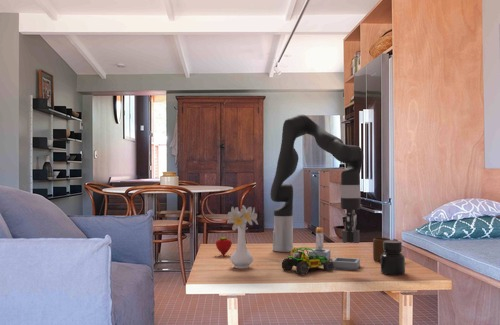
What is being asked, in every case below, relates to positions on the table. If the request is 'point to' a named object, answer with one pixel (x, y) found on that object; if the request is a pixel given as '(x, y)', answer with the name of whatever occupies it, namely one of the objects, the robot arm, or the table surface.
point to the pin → (319, 239)
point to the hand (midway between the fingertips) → (350, 241)
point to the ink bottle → (392, 258)
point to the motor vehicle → (305, 261)
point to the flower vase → (241, 235)
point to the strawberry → (223, 245)
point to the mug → (379, 248)
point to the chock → (355, 236)
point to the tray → (346, 263)
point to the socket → (320, 253)
